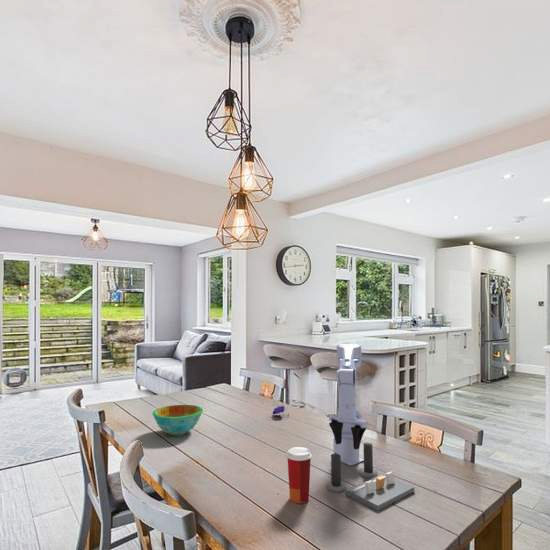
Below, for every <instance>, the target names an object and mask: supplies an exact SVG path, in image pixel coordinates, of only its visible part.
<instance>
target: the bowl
mask: <svg viewBox="0 0 550 550" xmlns="http://www.w3.org/2000/svg"><path fill="white" fill-rule="evenodd" d="M203 411H204V409H203V408H202V407H200V406H197V405H194V404H173V405H166V406H163V407H158V408H157V409H155V410H153V412H152V413H151V414H152V416H153V418H154V420H155V422H156V424H157V426H158V427H159V428H160V430H161V431H163V433H167V434H169V435H170V436H172V435H173V437H175V436H177V437H179V436H183V435H185V434H186V433H188V432H190V431H191V430H192V429H194V428H195V426H196V425H197V423H198V421H199V419H200V417H201V416H202V413H203Z"/></svg>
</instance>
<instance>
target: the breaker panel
mask: <svg viewBox="0 0 550 550" xmlns="http://www.w3.org/2000/svg"><path fill="white" fill-rule="evenodd" d="M380 476H383V477H385V481H384V487H382V488H380V489H377V488H376V487H375V486H376V478H377V477H380ZM369 480H372V481H373V482H374V489H375V492H373V493H371V494H367V493H366V488H365V482H367V481H369ZM394 480H395V482H394V483H392V484H387V482H386V476H385V473H381V474H378V476H376V477H374V478H368V480H364V481H363V482H361V483H360V482H359V483H358V484H356V485H353V486H351V487H349V488H346V490H345V496H347V495H348V496H347V497H349V496H350V497H349V498H351V497H352V499H353V498H354V500H355V501H357V502H359V503H361V504H363V505H365V506H367V507H370V508H371V507H372V508H371V509H374V510H375V511H377V512H380V511H381V510H382V509H385V508H387V507H389V506H390V504H391V505H393V504H394V503H393V502H395V503H396V502H398V501H400V500H402V499H404V498H406V497H407V495H408V494H410V493H412V492H414V493H415V486H413V485H410V484H408V483H405V482H402V481H401V480H398V479H396V478H394ZM412 494H413V493H412ZM410 495H411V494H410ZM405 496H406V497H405ZM408 496H409V495H408ZM403 497H404V498H403ZM401 498H402V499H401ZM399 499H400V500H399ZM392 503H393V504H392ZM388 505H389V506H388Z"/></svg>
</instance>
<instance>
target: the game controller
mask: <svg viewBox="0 0 550 550" xmlns="http://www.w3.org/2000/svg"><path fill="white" fill-rule="evenodd" d="M273 406H275V404H274V405H272V407H273ZM287 410H288V409H287V408H286V407H285V406H284V405H278V404H276V407H274V408H273V411H272V415H276V417H277V416H279V414H280V415H281V416H282V415H283V413H284V412H285V411H287ZM281 413H282V414H281ZM289 415H290V413H287V417H289ZM283 417H284V418H286V416H285V415H283Z"/></svg>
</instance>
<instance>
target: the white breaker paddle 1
mask: <svg viewBox="0 0 550 550" xmlns="http://www.w3.org/2000/svg"><path fill="white" fill-rule="evenodd" d="M368 480H369V479H368ZM366 481H367V480H366ZM364 482H365V481H364ZM365 488H366V493H367V494H371V493H373V492H375V489H374V482H373V481H372V480H369V481H367V482H365Z"/></svg>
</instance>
